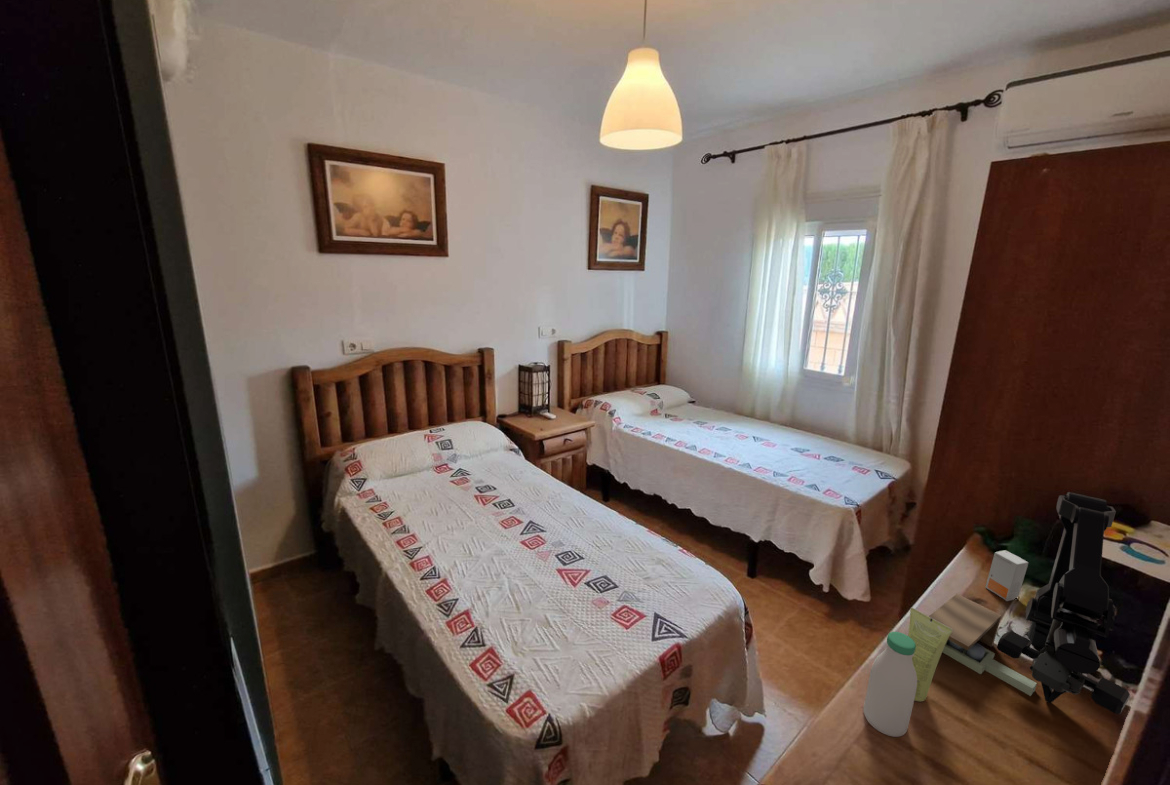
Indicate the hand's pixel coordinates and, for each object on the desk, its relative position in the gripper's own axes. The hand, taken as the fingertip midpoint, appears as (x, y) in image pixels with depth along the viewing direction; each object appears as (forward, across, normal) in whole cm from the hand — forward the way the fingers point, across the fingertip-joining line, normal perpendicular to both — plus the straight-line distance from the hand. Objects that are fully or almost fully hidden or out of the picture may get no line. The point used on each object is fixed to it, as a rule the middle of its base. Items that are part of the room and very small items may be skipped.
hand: (1048, 701), depth 99 cm
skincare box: (+1, -20, +36) cm, 41 cm away
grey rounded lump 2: (0, -13, 0) cm, 13 cm away
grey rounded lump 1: (0, -17, 0) cm, 17 cm away
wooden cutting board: (+1, -17, 0) cm, 17 cm away
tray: (+1, -11, 0) cm, 11 cm away
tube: (+1, -16, -21) cm, 27 cm away
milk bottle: (+1, -16, -33) cm, 37 cm away
